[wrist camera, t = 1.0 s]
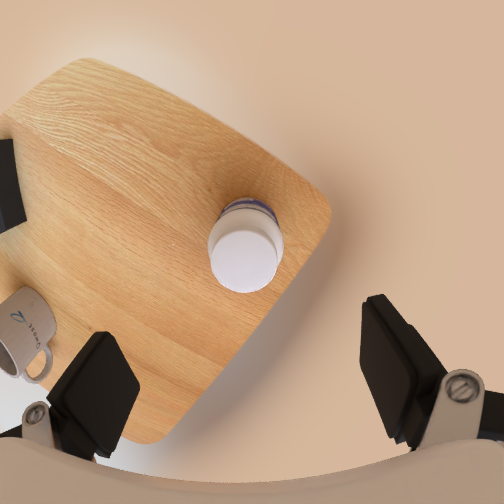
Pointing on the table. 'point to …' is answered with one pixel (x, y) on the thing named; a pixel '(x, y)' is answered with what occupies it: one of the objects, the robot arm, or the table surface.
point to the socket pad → (9, 189)
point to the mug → (25, 333)
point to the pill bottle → (245, 245)
